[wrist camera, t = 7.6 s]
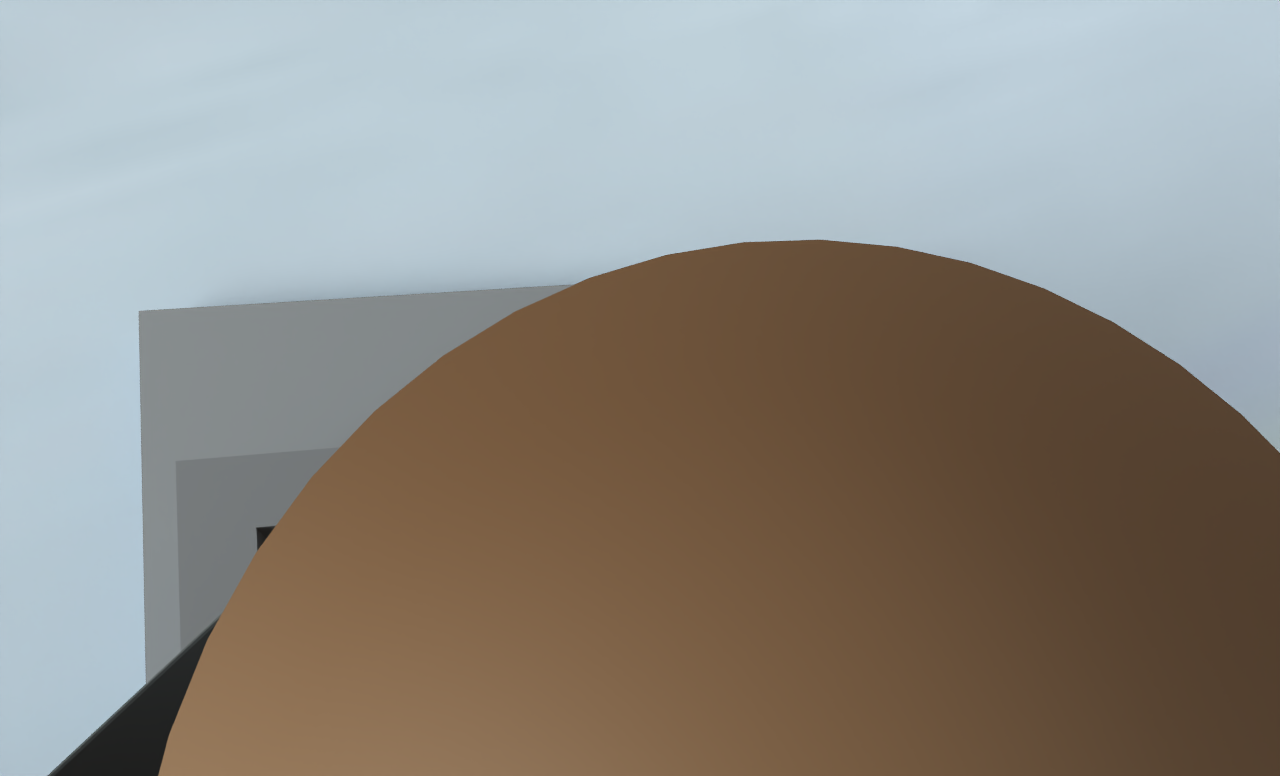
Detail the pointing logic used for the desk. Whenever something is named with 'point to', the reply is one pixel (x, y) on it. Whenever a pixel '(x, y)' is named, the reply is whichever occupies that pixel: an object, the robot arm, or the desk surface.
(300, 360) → the socket block
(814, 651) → the walnut peg
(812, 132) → the desk surface
